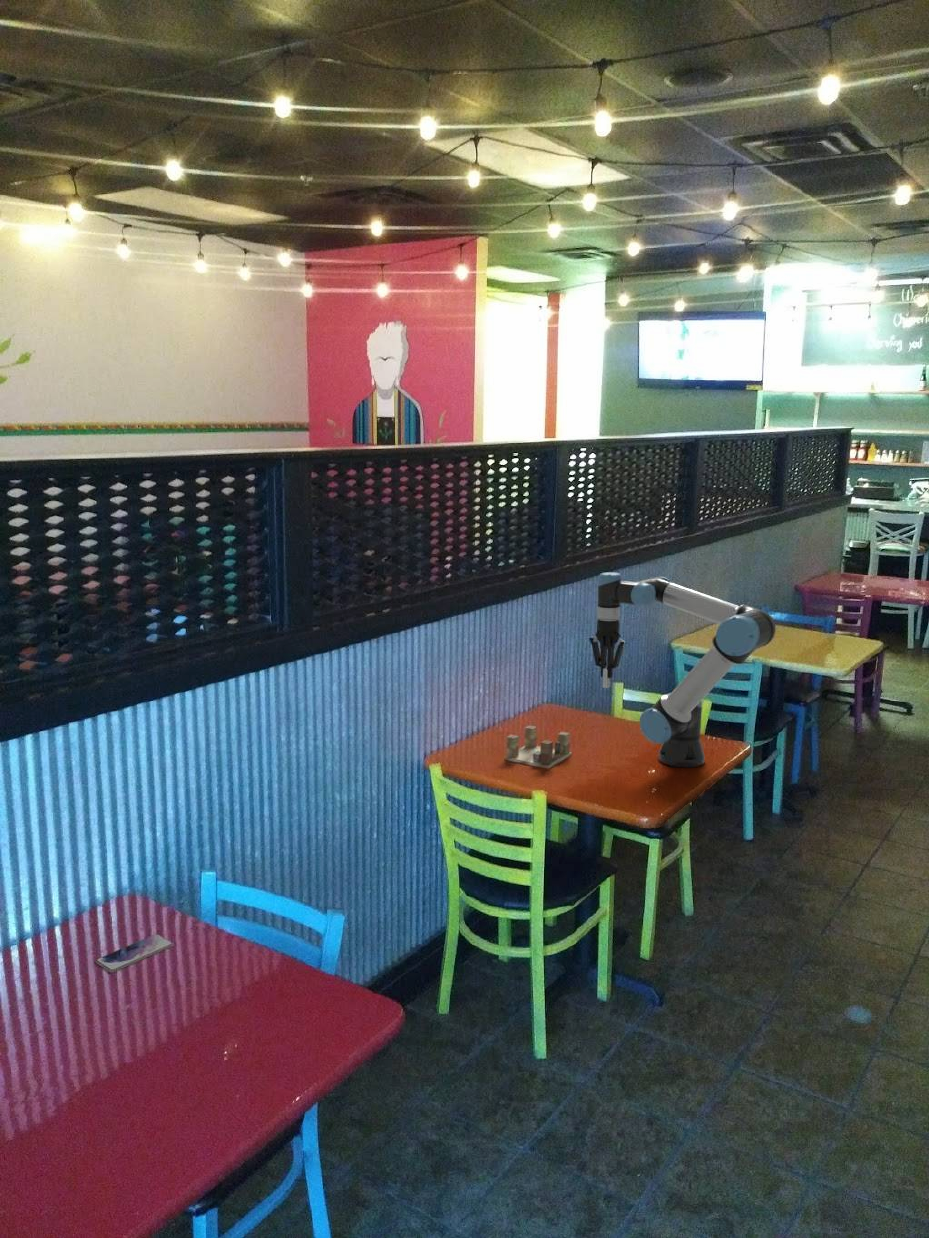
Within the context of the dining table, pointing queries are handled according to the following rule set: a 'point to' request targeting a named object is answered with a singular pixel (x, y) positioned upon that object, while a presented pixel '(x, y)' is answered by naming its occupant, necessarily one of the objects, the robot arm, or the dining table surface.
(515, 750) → the stool seat
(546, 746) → the hinged leg
